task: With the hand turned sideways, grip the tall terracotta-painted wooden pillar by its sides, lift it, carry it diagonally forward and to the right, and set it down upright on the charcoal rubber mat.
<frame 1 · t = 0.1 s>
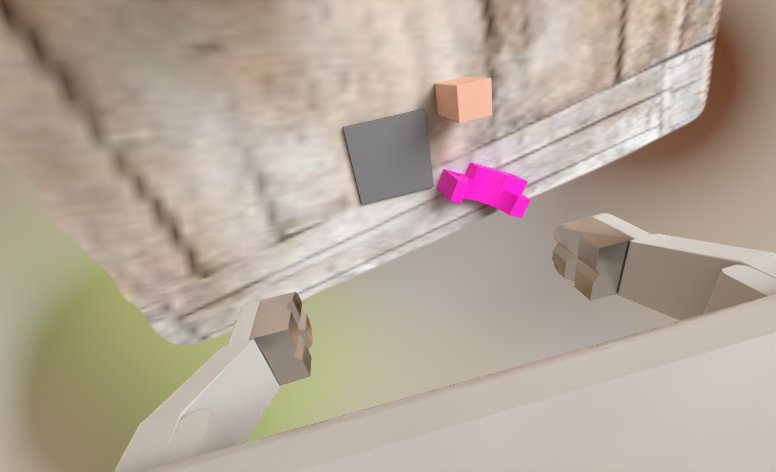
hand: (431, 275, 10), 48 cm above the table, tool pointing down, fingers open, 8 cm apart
toy block: (476, 180, 62), on the table
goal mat: (390, 158, 56), on the table
pillar block: (450, 96, 53), on the table
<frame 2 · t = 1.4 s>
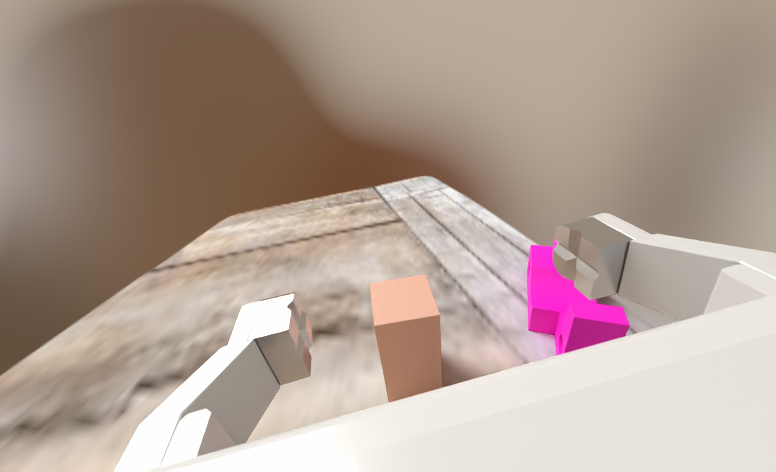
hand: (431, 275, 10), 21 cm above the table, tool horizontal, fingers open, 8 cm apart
toy block: (557, 318, 35), on the table
pillar block: (411, 374, 31), on the table
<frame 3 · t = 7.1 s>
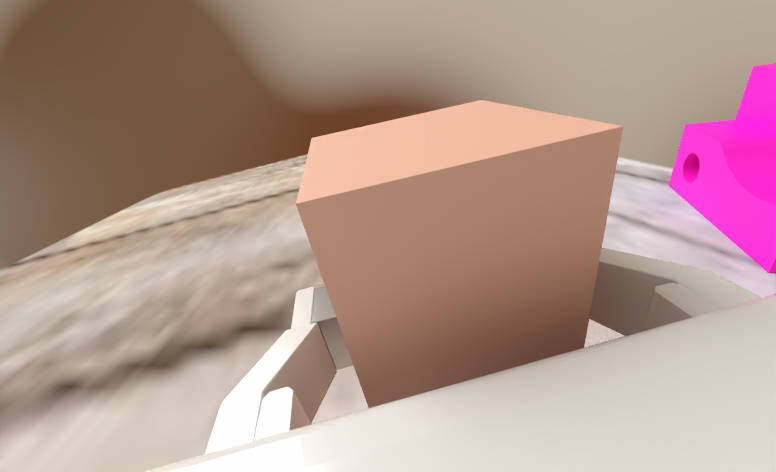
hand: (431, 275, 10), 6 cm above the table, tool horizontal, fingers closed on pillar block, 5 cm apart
pillar block: (455, 407, 12), on the table, touching gripper
when the fingers open (8 cm above the table, at t = 12.5 s): pillar block drops 1 cm, resting on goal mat.
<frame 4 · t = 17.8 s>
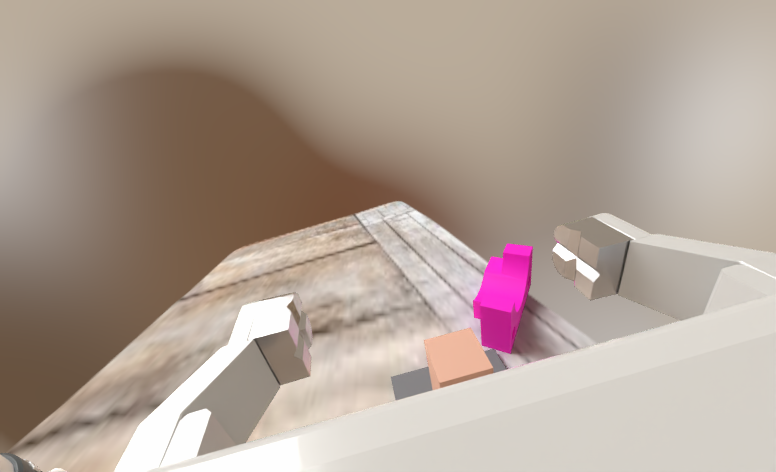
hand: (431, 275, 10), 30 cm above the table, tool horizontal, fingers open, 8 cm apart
toy block: (499, 311, 48), on the table
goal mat: (463, 418, 35), on the table
pillar block: (462, 414, 35), point 1 cm above the table, touching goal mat
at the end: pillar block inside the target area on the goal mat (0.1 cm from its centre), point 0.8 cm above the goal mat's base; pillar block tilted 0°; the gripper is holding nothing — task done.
